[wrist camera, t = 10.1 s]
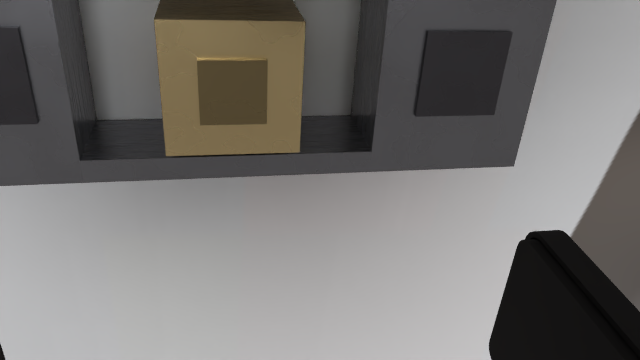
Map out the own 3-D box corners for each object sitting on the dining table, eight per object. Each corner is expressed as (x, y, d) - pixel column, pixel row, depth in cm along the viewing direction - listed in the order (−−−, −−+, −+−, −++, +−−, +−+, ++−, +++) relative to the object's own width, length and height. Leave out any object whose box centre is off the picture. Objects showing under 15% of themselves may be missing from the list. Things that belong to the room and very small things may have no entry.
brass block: (284, -13, 24) (306, 23, 19) (281, 96, 27) (300, 154, 21) (165, -16, 23) (153, 20, 18) (173, 97, 26) (165, 158, 20)
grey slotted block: (516, -52, 25) (569, -38, 21) (477, 130, 29) (515, 168, 26) (-107, -77, 20) (-173, -64, 17) (-43, 143, 25) (-84, 191, 21)
